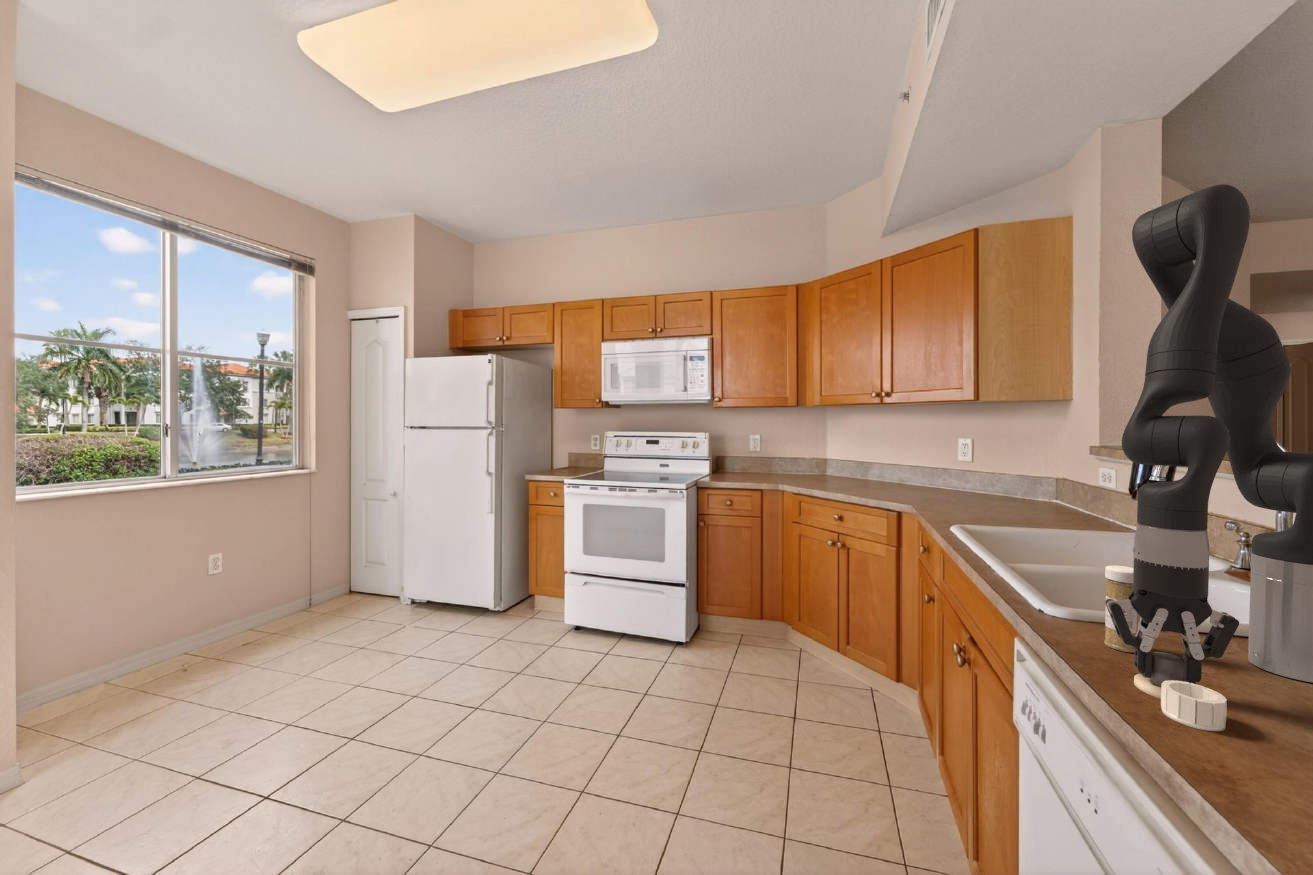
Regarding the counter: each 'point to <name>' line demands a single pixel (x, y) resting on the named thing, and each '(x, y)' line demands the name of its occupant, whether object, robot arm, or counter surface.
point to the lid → (1161, 673)
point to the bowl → (1193, 705)
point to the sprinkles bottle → (1117, 589)
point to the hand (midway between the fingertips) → (1166, 678)
